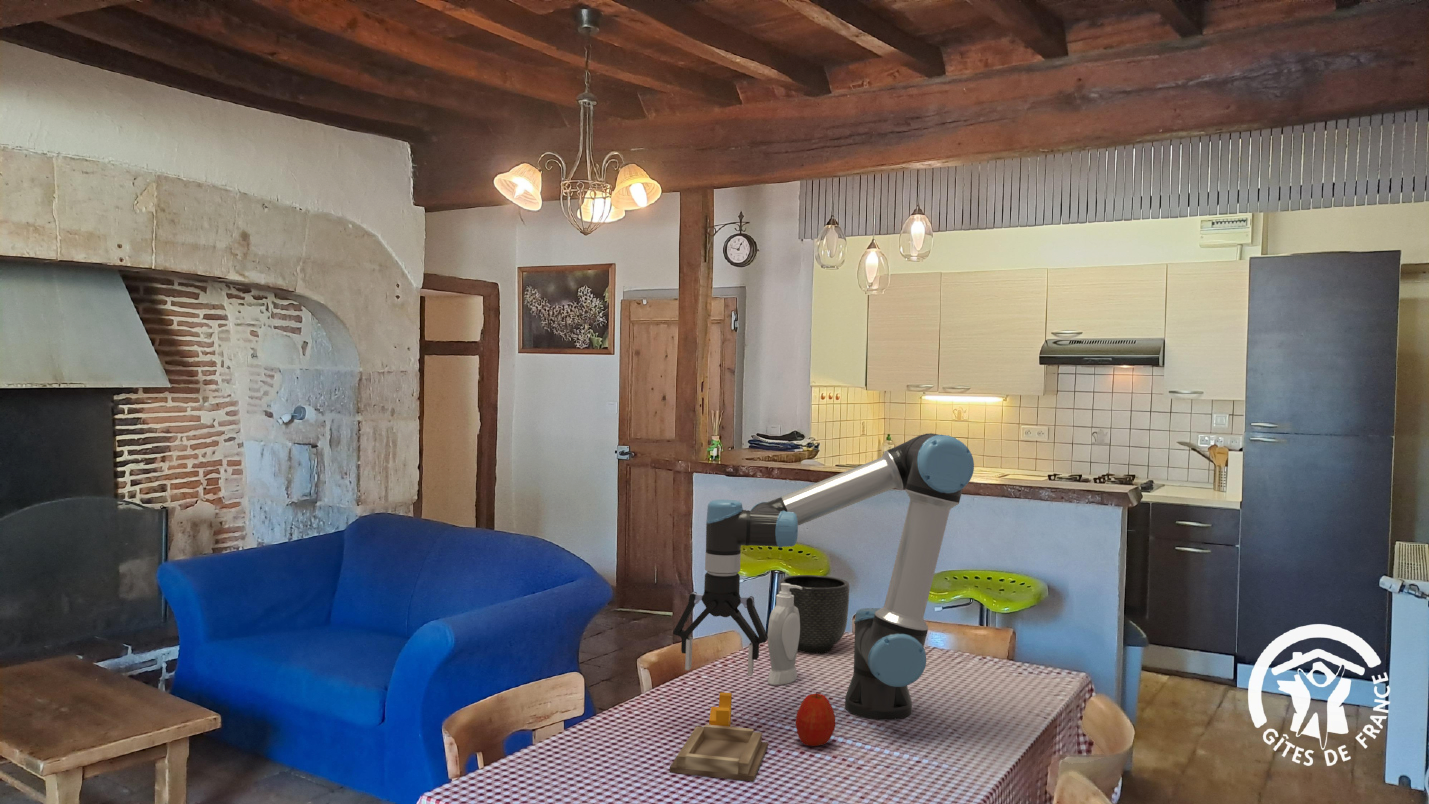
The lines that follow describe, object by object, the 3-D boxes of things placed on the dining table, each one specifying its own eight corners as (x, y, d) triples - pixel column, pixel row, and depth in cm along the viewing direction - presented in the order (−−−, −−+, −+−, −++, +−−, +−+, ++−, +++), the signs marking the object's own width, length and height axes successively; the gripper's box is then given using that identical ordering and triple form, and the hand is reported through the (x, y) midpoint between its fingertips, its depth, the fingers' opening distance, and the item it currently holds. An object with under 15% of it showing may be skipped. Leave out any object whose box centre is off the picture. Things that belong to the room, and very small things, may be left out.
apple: (824, 754, 194) (825, 700, 193) (787, 745, 198) (788, 693, 198) (841, 742, 201) (842, 690, 200) (805, 734, 205) (807, 683, 205)
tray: (767, 747, 197) (768, 730, 197) (753, 781, 179) (754, 763, 179) (691, 739, 200) (691, 722, 200) (669, 772, 182) (670, 754, 182)
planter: (774, 655, 266) (776, 585, 266) (781, 637, 286) (782, 573, 285) (846, 660, 263) (848, 590, 263) (848, 642, 282) (850, 577, 282)
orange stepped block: (711, 721, 212) (711, 691, 212) (730, 722, 211) (731, 693, 211) (706, 741, 200) (707, 709, 200) (727, 742, 199) (728, 710, 199)
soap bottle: (783, 691, 234) (786, 590, 234) (758, 684, 239) (761, 585, 239) (814, 680, 244) (817, 583, 244) (789, 673, 249) (792, 578, 249)
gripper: (782, 573, 209) (779, 672, 209) (670, 565, 214) (667, 661, 214) (777, 580, 201) (774, 682, 201) (661, 571, 206) (658, 670, 207)
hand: (719, 671), depth 208 cm, fingers open, 13 cm apart
